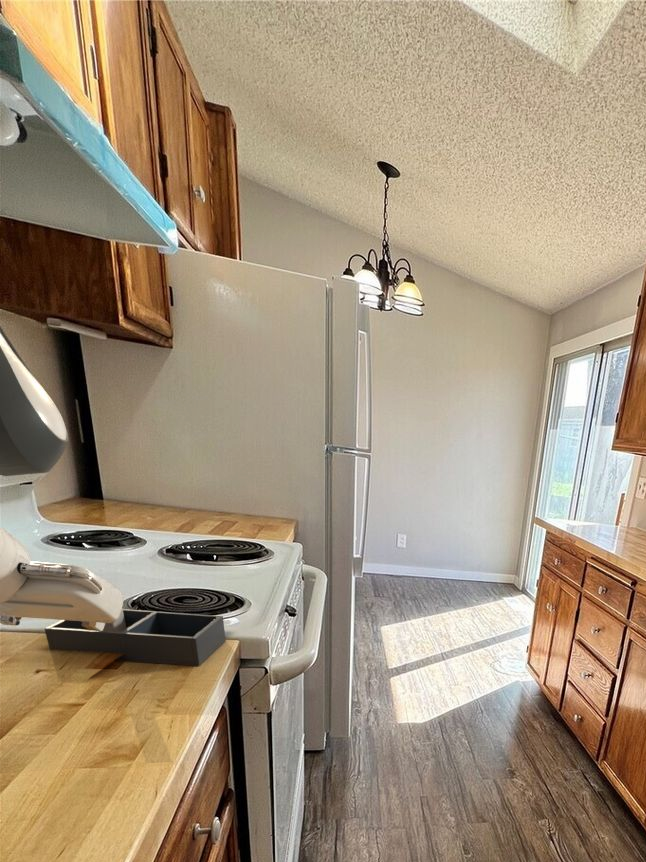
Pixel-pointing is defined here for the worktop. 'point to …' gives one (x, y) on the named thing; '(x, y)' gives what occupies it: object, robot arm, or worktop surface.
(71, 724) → the worktop surface
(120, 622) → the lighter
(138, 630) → the sorter
